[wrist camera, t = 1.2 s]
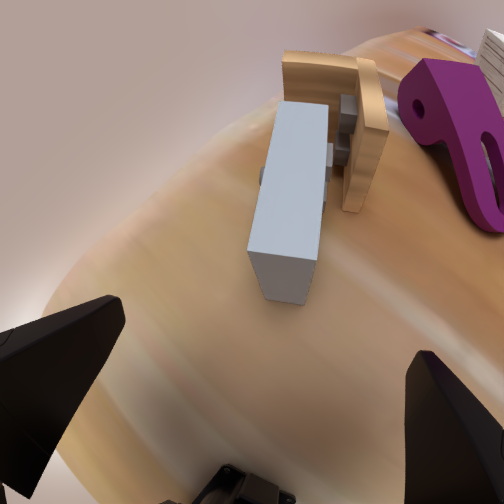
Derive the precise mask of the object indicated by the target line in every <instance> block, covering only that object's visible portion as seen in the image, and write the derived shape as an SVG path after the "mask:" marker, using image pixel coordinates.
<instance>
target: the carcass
mask: <svg viewBox="0 0 504 504" xmlns="http://www.w3.org/2000/svg"><path fill="white" fill-rule="evenodd" d="M282 71H283V83H284V84H283V85H284V101H290V102H302V103H313V104H322V105H328V132H327V143H333V151H334V152H333V165H340V166H344V175H343V203H342V211H349V212H355V213H359V211H360V209H361V207H362V204H363V202H364V199H365V197H366V194H367V192H368V189H369V186H370V184H371V181H372V179H373V176H374V173H375V171H376V168H377V165H378V162H379V160H380V157H381V154H382V151H383V148H384V146H385V143H386V140H387V137H388V134H389V125H388V120H387V114H386V109H385V104H384V99H383V94H382V90H381V85H380V81H379V77H378V73H377V69H376V65H375V61H373V60H367V59H362V58H356V57H350V56H343V55H335V54H326V53H317V52H305V51H284V55H283V59H282Z"/></svg>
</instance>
